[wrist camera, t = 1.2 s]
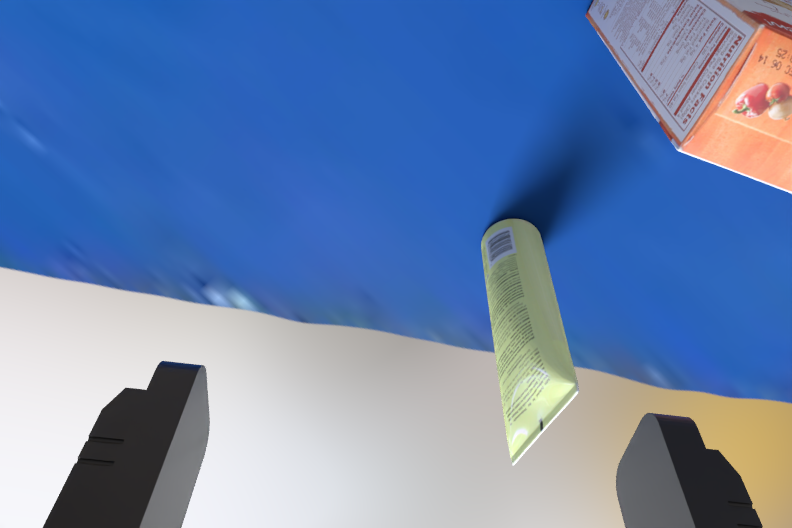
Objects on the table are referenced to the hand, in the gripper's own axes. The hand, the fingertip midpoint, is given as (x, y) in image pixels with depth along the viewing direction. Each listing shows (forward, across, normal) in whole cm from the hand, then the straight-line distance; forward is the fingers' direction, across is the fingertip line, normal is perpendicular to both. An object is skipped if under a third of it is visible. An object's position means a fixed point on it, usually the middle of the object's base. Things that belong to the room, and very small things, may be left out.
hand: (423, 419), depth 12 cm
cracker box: (+38, +18, -1) cm, 42 cm away
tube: (+38, +10, -21) cm, 44 cm away
